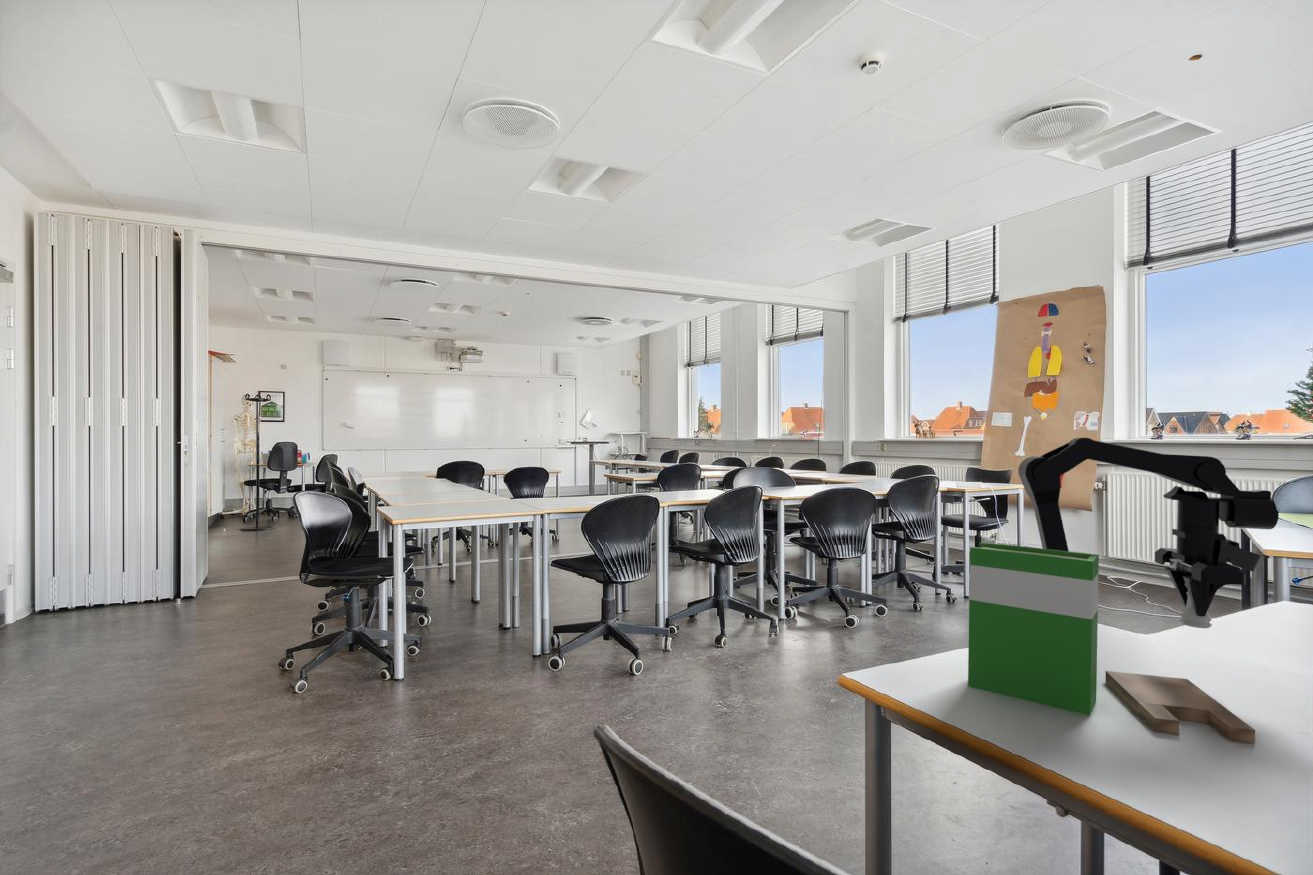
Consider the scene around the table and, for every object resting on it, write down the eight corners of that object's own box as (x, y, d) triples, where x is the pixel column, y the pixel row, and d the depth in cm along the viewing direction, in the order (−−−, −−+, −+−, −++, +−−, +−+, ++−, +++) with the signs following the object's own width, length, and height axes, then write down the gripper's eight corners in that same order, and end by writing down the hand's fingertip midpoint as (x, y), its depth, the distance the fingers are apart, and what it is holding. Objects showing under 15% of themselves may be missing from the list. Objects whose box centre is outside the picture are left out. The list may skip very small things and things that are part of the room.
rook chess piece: (1199, 622, 119) (1200, 578, 118) (1218, 629, 114) (1219, 583, 114) (1173, 621, 119) (1174, 577, 119) (1191, 628, 115) (1192, 582, 114)
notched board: (1154, 731, 96) (1154, 718, 96) (1105, 682, 115) (1105, 670, 115) (1254, 743, 92) (1255, 729, 92) (1186, 690, 111) (1187, 678, 111)
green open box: (967, 686, 112) (970, 547, 112) (979, 674, 118) (981, 542, 118) (1090, 716, 101) (1092, 561, 101) (1096, 701, 107) (1098, 554, 106)
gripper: (1286, 536, 105) (1284, 633, 105) (1224, 521, 123) (1222, 604, 123) (1203, 532, 108) (1201, 626, 108) (1154, 518, 126) (1152, 599, 126)
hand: (1195, 613), depth 116 cm, fingers closed on rook chess piece, 3 cm apart
